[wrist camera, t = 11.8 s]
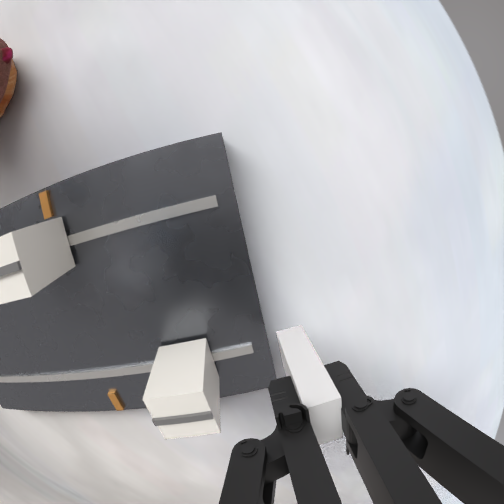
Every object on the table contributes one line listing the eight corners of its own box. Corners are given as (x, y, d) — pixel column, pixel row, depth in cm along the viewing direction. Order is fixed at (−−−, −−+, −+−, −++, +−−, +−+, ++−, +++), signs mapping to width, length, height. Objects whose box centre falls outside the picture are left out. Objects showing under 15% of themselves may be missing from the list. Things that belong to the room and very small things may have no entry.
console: (11, 396, 20) (1, 409, 17) (-54, 242, 16) (-70, 248, 13) (273, 368, 21) (278, 387, 19) (221, 137, 17) (221, 131, 15)
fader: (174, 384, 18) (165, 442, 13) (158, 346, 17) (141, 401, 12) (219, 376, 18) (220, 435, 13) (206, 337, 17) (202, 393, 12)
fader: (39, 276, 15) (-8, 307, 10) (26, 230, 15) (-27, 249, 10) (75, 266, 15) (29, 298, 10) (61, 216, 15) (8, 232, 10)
